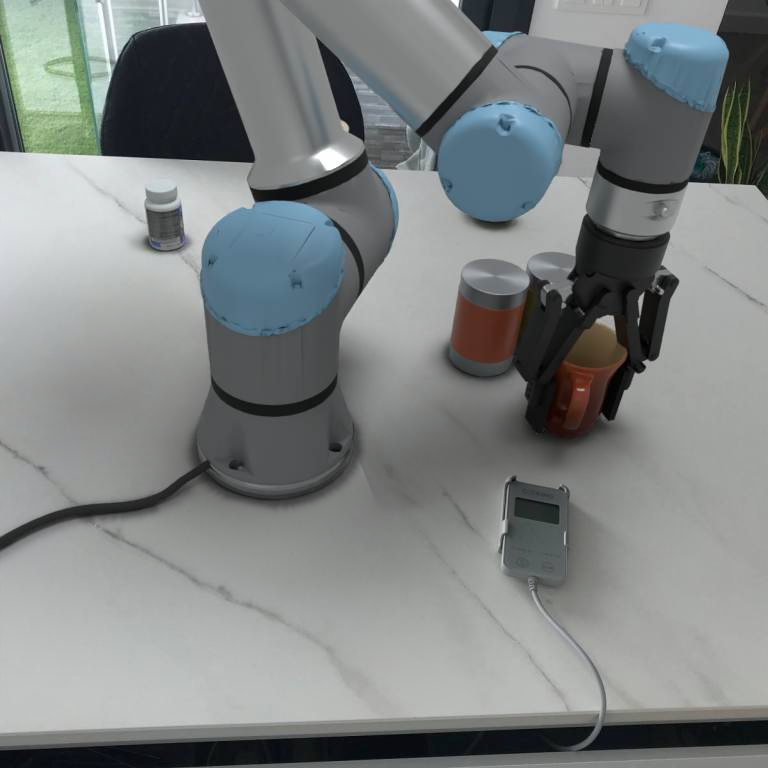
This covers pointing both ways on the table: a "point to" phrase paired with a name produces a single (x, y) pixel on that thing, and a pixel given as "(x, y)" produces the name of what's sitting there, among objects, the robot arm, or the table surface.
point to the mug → (584, 381)
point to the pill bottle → (164, 215)
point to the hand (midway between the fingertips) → (569, 418)
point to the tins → (499, 309)
